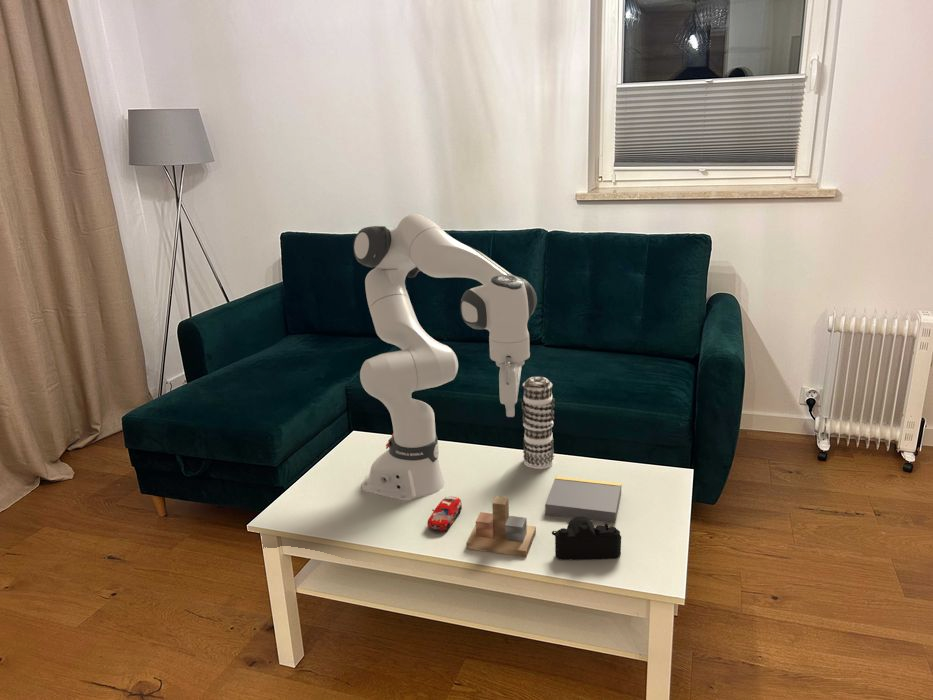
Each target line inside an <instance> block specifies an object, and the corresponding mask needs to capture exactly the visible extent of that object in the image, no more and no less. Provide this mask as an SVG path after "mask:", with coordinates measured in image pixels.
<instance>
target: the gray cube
mask: <svg viewBox="0 0 933 700" xmlns="http://www.w3.org/2000/svg"><path fill="white" fill-rule="evenodd" d="M527 525H528V523H527V517H521V516H513V515H509V518H508V520H507V522H506V525H505V533H506V540H507V541H515V542H522V543H523V541H524V538H525V536H526V533H527Z"/></svg>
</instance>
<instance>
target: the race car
mask: <svg viewBox="0 0 933 700" xmlns="http://www.w3.org/2000/svg"><path fill="white" fill-rule="evenodd" d="M462 504H463V503H462V500H461V499H460V498H459V497H457V496H446V497H444V498H442V499H441V501H439V503H438V505H436V507H435V508H434V509H431V511H432V513H431V515H430V517H428V519H427V523H426V524H427V528H428V529H430V530H433V531H437V532H438V531H439V532H442V531H449V529H450V526H451V525H452V524H453V522H454V521H455V520H456V519H457V517H458V516H459V515H460V514H461V512H462V509H463V507H462Z"/></svg>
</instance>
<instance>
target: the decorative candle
mask: <svg viewBox="0 0 933 700" xmlns="http://www.w3.org/2000/svg"><path fill="white" fill-rule="evenodd" d="M522 387H523V398H521V399H520V402H521V410H522V411H521V414H522V421H523V422H522V426H523V427H524V433H523V435H524V437H523V440H522V441H523V450H522V453H523V464H524V465H525V466H526V467H529V468H530V469H535V470H543V469H548V468H550V467H552V466H553V465H554V457H555V454H554V452H555V451H554V448H555V447H554V446H555V445H554V441H555V440H554V438H553V432H552V431H553V429H552V428H553V427H554V419H555V416H554V415H555V410H553V409H554V408H555V407H556V406H555V405H556V404H555V402H556V401H555V400H556V399H555V398H554V397H553V393H552V391H553V390H552V388H553V383H552V382H551V381H550V380H549V379H548V378H546V377H544V376H540V375H539V376H537V375H536V376H531V377H529V378H527V379H526V381H524V382H523V383H522Z"/></svg>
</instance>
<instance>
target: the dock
mask: <svg viewBox="0 0 933 700" xmlns="http://www.w3.org/2000/svg"><path fill="white" fill-rule="evenodd" d="M621 496H622V483H621V482H619V483H618V482H611V481H603V480H593V479H583V478H576V477H575V478H574V477H566V476H558V475H557V476H554V480H553V483H552V486H551V488H550V490H549V493H548V496H547V499H546V501H545V505H544V507H545V508H544V512H545V513H544V514H545V516H553V517H558V518H559V517H561V518H562V517H563V518H567V519H573V518H575V517H586V518H587V519H589V520H590V521H591V522H592V521H593V522H603V523H609V524H610V523H611V524H616V522H617V517H618V513H619V512H618V511H619V508H620V507H619V506H620V503H621V502H620V501H621Z"/></svg>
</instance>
